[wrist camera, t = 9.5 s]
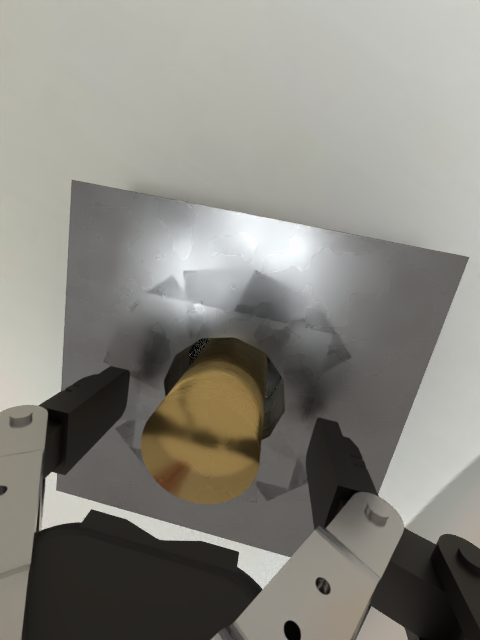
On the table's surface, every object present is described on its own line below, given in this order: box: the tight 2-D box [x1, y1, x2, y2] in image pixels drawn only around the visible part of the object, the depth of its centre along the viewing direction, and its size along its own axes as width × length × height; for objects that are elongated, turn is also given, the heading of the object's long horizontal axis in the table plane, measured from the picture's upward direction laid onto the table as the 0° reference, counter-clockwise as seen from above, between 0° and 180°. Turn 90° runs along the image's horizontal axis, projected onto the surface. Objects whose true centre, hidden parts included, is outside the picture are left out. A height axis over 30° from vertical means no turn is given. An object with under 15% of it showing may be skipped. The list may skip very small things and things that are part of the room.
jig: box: [56, 180, 469, 557], centre depth 15 cm, size 16×16×4 cm
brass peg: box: [141, 337, 268, 504], centre depth 13 cm, size 4×4×8 cm
